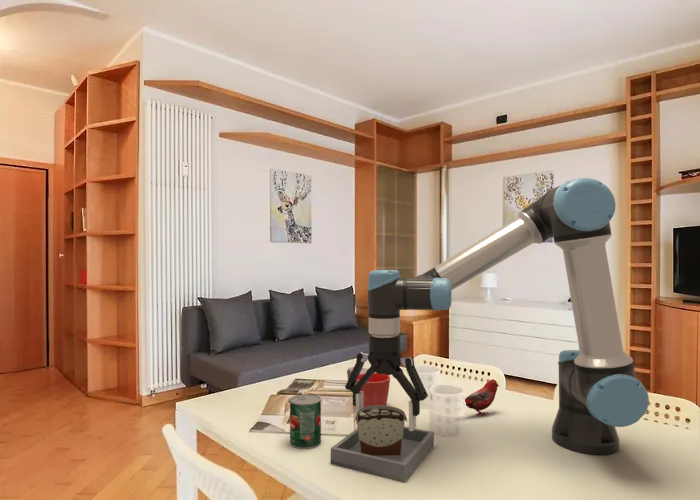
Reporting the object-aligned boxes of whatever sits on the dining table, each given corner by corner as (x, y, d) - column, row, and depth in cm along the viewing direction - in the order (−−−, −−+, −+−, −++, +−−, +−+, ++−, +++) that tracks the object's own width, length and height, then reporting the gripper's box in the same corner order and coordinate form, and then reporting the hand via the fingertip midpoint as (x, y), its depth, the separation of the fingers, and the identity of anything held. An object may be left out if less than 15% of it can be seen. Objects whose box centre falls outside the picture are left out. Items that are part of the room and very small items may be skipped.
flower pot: (349, 411, 136) (349, 378, 137) (365, 400, 146) (365, 370, 146) (381, 416, 132) (381, 383, 132) (395, 405, 141) (395, 374, 141)
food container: (403, 445, 110) (403, 404, 110) (407, 456, 104) (407, 413, 104) (353, 446, 109) (353, 404, 110) (354, 457, 103) (354, 413, 103)
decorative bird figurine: (502, 413, 134) (502, 379, 135) (455, 422, 127) (455, 387, 127) (495, 410, 137) (495, 377, 137) (449, 419, 129) (448, 384, 130)
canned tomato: (327, 443, 113) (327, 399, 113) (301, 452, 108) (301, 406, 108) (308, 433, 119) (308, 392, 119) (283, 441, 114) (283, 398, 114)
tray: (434, 446, 111) (434, 431, 111) (405, 482, 94) (405, 465, 94) (368, 432, 120) (368, 419, 120) (330, 463, 102) (330, 448, 102)
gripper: (440, 335, 104) (441, 427, 104) (345, 328, 116) (346, 411, 116) (430, 341, 98) (431, 439, 98) (331, 333, 109) (332, 420, 109)
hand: (385, 424), depth 107 cm, fingers open, 13 cm apart
